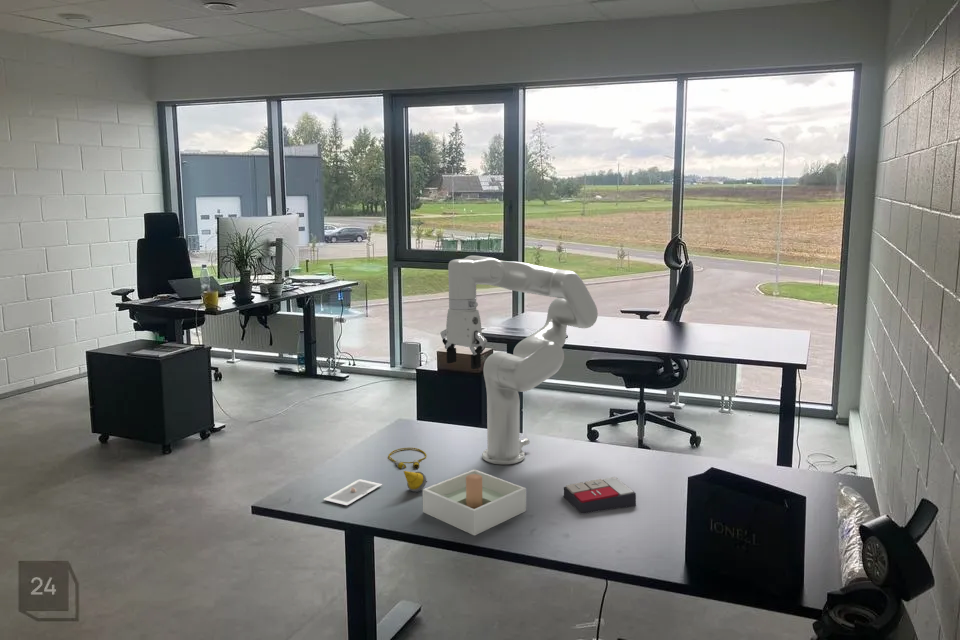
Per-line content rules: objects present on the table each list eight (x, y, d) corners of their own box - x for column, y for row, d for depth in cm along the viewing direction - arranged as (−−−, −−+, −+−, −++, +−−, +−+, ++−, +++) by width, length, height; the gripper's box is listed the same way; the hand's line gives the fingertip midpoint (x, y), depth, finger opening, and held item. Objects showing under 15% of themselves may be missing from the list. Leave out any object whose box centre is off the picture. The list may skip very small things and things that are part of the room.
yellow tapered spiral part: (432, 492, 195) (413, 476, 188) (415, 499, 196) (395, 483, 189) (430, 474, 198) (411, 458, 191) (413, 481, 200) (394, 465, 193)
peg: (474, 506, 185) (474, 472, 183) (485, 511, 182) (485, 477, 180) (463, 511, 182) (462, 477, 180) (474, 516, 179) (474, 481, 178)
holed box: (474, 490, 194) (474, 469, 193) (526, 511, 182) (526, 488, 181) (423, 512, 182) (422, 489, 181) (474, 535, 169) (474, 511, 168)
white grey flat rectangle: (323, 503, 189) (322, 495, 188) (359, 482, 202) (359, 475, 201) (347, 509, 185) (346, 501, 184) (382, 488, 198) (382, 480, 197)
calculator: (562, 484, 190) (615, 474, 194) (563, 499, 191) (616, 489, 195) (580, 501, 179) (636, 490, 184) (581, 517, 180) (636, 506, 184)
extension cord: (377, 468, 212) (376, 461, 212) (397, 449, 227) (397, 443, 227) (417, 472, 209) (416, 465, 208) (434, 453, 224) (434, 446, 223)
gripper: (495, 306, 198) (495, 368, 201) (450, 299, 210) (452, 358, 213) (475, 309, 193) (476, 373, 196) (431, 302, 205) (432, 362, 208)
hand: (463, 365), depth 204 cm, fingers open, 9 cm apart
